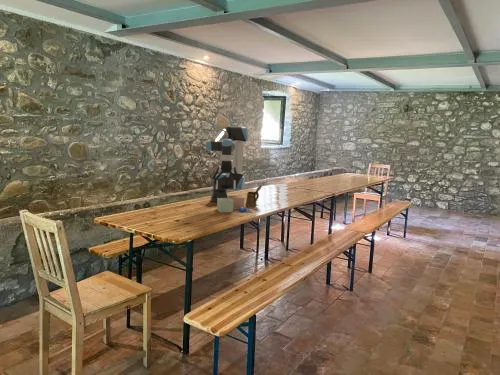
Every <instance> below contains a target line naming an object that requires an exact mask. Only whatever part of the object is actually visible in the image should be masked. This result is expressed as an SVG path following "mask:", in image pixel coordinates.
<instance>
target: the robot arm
mask: <svg viewBox="0 0 500 375" xmlns="http://www.w3.org/2000/svg"><path fill="white" fill-rule="evenodd" d="M248 141H249V131H248V128H247V127H246V126H242V125H241V126H235V125H234V126H232V125H230V126H229V125H228V126H224V127H222V128H221V129H219V130H218V131H217V134H216V135H215V136H214V138H212V140H207V141H206V142H205V150H206V151H209V152H221V159H220V160H221V162H220V164H221V165H220V166H221V167H220V166H217V167H216V171H215V172H214V173H213V176H212V178H211V179H212V194H211V196H210V201H211V202H213V203H217V198H228V196H229V195H228V192H227V190H236V191H242V190H243V189H244V186H245V183H246V177H245V175H244V173H243V172H242V171H243V160H244V159H243V158H244V151H245V150H244V149H245V148H244V147H245V144H246V143H247V142H248ZM220 170H221V171H220ZM219 171H220V172H219ZM218 172H219V173H218ZM228 174H229V175H228Z"/></svg>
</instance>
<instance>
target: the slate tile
mask: <svg viewBox="0 0 500 375" xmlns="http://www.w3.org/2000/svg"><path fill="white" fill-rule="evenodd" d="M233 212H234V213H236V214H253V213H254V212H253V211H251V209H249V208H247V211H243V212H241V211H240V210H239V209H233Z"/></svg>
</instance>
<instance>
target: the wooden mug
mask: <svg viewBox="0 0 500 375" xmlns="http://www.w3.org/2000/svg"><path fill="white" fill-rule="evenodd" d="M261 189H262V185H259V186H258V187H257V188H256V189H255V191H247V193H246V200H245V203H244V206H245V207H257V201H258V200H259V196H260V195H259V191H260V190H261Z"/></svg>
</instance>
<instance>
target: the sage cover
mask: <svg viewBox="0 0 500 375" xmlns="http://www.w3.org/2000/svg"><path fill="white" fill-rule="evenodd" d="M216 203H217V204H216V210H217V211H218V212H219V213H234V211H233V203H234V201H233V200H232V199H231V198H217V202H216Z"/></svg>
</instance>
